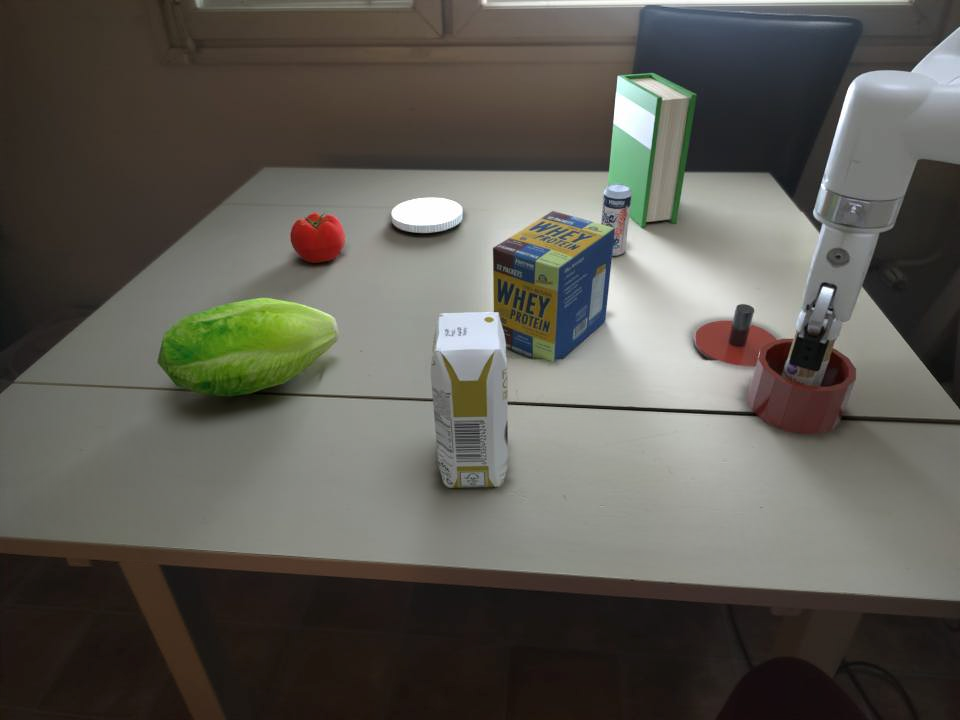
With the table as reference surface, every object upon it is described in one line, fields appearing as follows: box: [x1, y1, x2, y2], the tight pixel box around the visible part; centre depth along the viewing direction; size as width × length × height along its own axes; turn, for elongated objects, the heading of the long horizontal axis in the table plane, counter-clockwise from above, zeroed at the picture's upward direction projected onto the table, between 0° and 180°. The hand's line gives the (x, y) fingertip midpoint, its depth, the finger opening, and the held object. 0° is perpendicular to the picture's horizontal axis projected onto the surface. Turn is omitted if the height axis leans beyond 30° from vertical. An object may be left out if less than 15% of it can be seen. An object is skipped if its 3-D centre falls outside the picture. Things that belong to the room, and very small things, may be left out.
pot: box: [746, 338, 857, 435], centre depth 81 cm, size 11×11×8 cm
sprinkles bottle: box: [781, 308, 844, 387], centre depth 79 cm, size 5×5×13 cm
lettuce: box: [156, 297, 340, 398], centre depth 87 cm, size 13×23×12 cm, turn 110°
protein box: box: [492, 210, 615, 362], centre depth 95 cm, size 10×15×16 cm
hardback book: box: [607, 72, 698, 228], centre depth 129 cm, size 18×7×24 cm, turn 13°
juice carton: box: [430, 311, 509, 489], centre depth 71 cm, size 8×9×19 cm
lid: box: [693, 303, 778, 367], centre depth 93 cm, size 12×12×7 cm
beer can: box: [600, 184, 632, 257], centre depth 117 cm, size 5×5×12 cm
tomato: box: [289, 211, 346, 264], centre depth 119 cm, size 9×9×8 cm
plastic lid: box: [390, 197, 463, 234], centre depth 132 cm, size 14×14×2 cm
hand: (811, 348), depth 77 cm, fingers open, 7 cm apart
